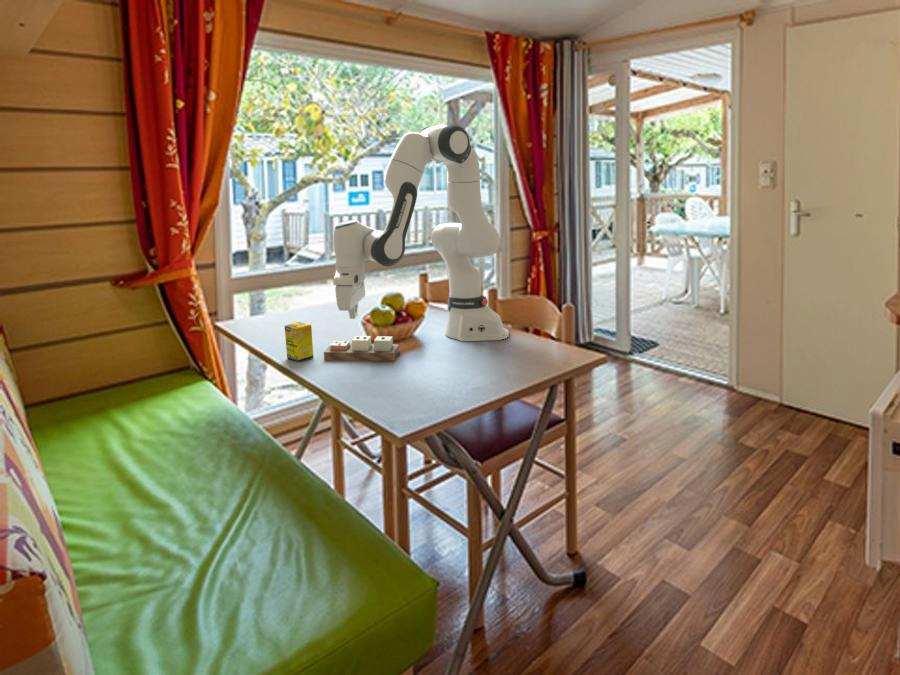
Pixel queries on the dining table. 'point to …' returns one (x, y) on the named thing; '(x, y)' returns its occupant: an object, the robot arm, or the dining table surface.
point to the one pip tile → (383, 343)
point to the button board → (362, 354)
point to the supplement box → (299, 341)
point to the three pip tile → (340, 345)
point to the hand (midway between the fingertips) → (353, 317)
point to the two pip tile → (361, 343)
